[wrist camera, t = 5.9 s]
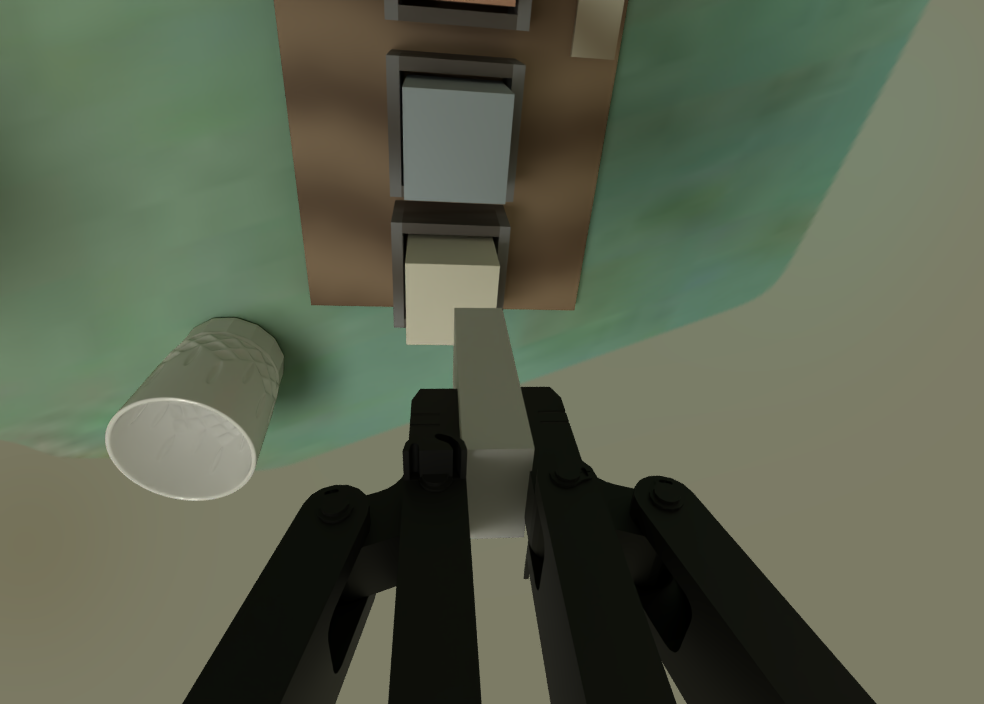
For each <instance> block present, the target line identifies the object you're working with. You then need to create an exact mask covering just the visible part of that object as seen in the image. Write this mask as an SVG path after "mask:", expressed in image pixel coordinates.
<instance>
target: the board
mask: <svg viewBox="0 0 984 704" xmlns="http://www.w3.org/2000/svg"><path fill="white" fill-rule="evenodd" d="M627 5H628V0H516V3H515V7H502V6H490V5H479V4H467V3H456V2H444V1H433V0H274V6H275V14H276V22H277V31H278V39H279V47H280V55H281V63H282V71H283V79H284V87H285V96H286V104H287V112H288V120H289V128H290V136H291V144H292V152H293V160H294V169H295V177H296V185H297V193H298V201H299V209H300V217H301V225H302V234H303V242H304V250H305V258H306V266H307V274H308V282H309V290H310V299H311V305H333V306H383V307H393V309H394V327H400V328H406V284H405V260H406V251H407V241H408V234H434V235H462V236H490V237H493V241H494V245H495V249H496V253H497V257H498V261H499V264H500V271H499V283H498V295H497V306H496V308H502V309H535V310H574V309H575V303H576V298H577V292H578V286H579V280H580V275H581V269H582V263H583V257H584V252H585V246H586V240H587V235H588V229H589V223H590V217H591V212H592V206H593V200H594V194H595V189H596V183H597V177H598V172H599V166H600V160H601V154H602V149H603V143H604V137H605V131H606V126H607V120H608V114H609V109H610V103H611V97H612V91H613V86H614V80H615V74H616V68H617V63H618V57H619V51H620V46H621V40H622V34H623V28H624V23H625V17H626V11H627ZM407 74H409V75H424V76H438V77H452V78H466V79H481V80H495V81H503V82H504V84H505V85H506V86H507V87H508V88H509V89H510V90H511V91H512V92H513V93H514V94H515V97H514V109H513V120H512V132H511V143H510V155H509V167H508V178H507V190H506V202H505V204H486V203H462V202H439V201H416V200H404V163H403V102H402V86H403V84H404V81H405V78H406V76H407Z"/></svg>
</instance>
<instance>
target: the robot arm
mask: <svg viewBox="0 0 984 704" xmlns="http://www.w3.org/2000/svg"><path fill="white" fill-rule="evenodd" d="M403 471H404V475H403V477H402V478H401V479H400V480H399V481H398V482H397V483H396V484H394V485H393V486H391V487H389V488H388V489H385V490H382V491H380V492H377V493H373V494H370V495H365V494H364V493H363V492H362V491H361V490H360V489H358V488H355V487H352V486H349V485H333V486H330V487H326V488H323V489H321V490H319V491H317V492H315V493H314V494H312V495H311V496H310V497H309V498H308V499H307V500H306V502H305V503H304V504H303V505H302V507H301V509H300V510H299V512H298V513H297V515H296V517H295V519H294V520H293V522H292V523H291V525H290V527H289V528H288V530H287V532H286V533H285V535H284V537H283V538H282V540H281V542H280V543H279V545H278V546H277V548H276V550H275V551H274V553H273V555H272V556H271V558H270V560H269V561H268V563H267V565H266V566H265V568H264V570H263V571H262V573H261V575H260V576H259V578H258V580H257V581H256V583H255V584H254V586H253V588H252V590H251V591H250V593H249V594H248V596H247V598H246V599H245V601H244V603H243V604H242V606H241V608H240V609H239V611H238V613H237V614H236V616H235V618H234V619H233V621H232V622H231V624H230V626H229V628H228V629H227V631H226V632H225V634H224V636H223V637H222V639H221V641H220V642H219V644H218V646H217V647H216V649H215V651H214V652H213V654H212V656H211V657H210V659H209V660H208V662H207V664H206V665H205V667H204V669H203V670H202V672H201V674H200V675H199V677H198V679H197V680H196V682H195V684H194V685H193V687H192V689H191V690H190V692H189V693H188V695H187V697H186V699H185V700H184V702H183V703H182V704H335V703H336V700H337V697H338V695H339V692H340V689H341V687H342V684H343V682H344V679H345V676H346V674H347V671H348V668H349V666H350V663H351V660H352V658H353V655H354V652H355V650H356V647H357V644H358V641H359V639H360V636H361V634H362V631H363V628H364V626H365V623H366V620H367V617H368V615H369V612H370V610H371V607H372V604H373V602H374V599H375V595H376V593H378V592H381V591H384V590H386V589H390V588H392V587H395V586H396V587H397V588H396V601H395V615H394V629H393V643H392V657H391V672H390V685H389V700H388V704H481V690H480V675H479V659H478V646H477V630H476V616H475V602H474V601H475V600H474V586H473V571H472V556H471V543H470V542H471V541H470V539H483V538H511V537H512V538H514V537H524V531H525V524H526V529H527V535H528V546H527V554H526V561H525V569H524V579H528V578H529V575H530V581H531V586H532V593H533V599H534V605H535V611H536V617H537V623H538V629H539V635H540V641H541V647H542V654H543V660H544V665H545V671H546V678H547V684H548V690H549V695H550V702H551V704H676V701H675V698H674V695H673V692H672V689H671V686H670V684H669V681H668V678H667V675H666V672H665V670H664V667H663V664H664V666H665V667H666V669H667V671H668V673H669V674H670V676H671V678H672V679H673V681H674V682H675V684H676V686H677V688H678V689H679V691H680V693H681V694H682V696H683V698H684V700H685V701H686V703H687V704H876V703H875V702H874V700H873V699H872V698H871V697H870V696H869V695H868V694H867V692H866V691H865V690H864V689H863V688H862V687H861V685H860V684H859V683H858V682H857V681H856V680H855V678H854V677H853V676H852V675H851V674H850V673H849V672H848V670H847V669H846V668H845V667H844V666H843V665H842V664H841V662H840V661H839V660H838V659H837V658H836V657H835V656H834V655H833V653H832V652H831V651H830V650H829V649H828V647H827V646H826V645H825V644H824V643H823V642H822V641H821V639H820V638H819V637H818V636H817V635H816V634H815V633H814V632H813V630H812V629H811V628H810V627H809V626H808V624H807V623H806V622H805V621H804V620H803V619H802V618H801V616H800V615H799V614H798V613H797V612H796V611H795V610H794V608H793V607H792V606H791V605H790V604H789V603H788V601H787V600H785V598H784V597H783V596H782V595H781V594H780V592H779V591H778V590H777V589H776V588H775V587H774V586H773V584H772V583H771V582H770V581H769V580H768V579H767V577H766V576H765V575H764V574H763V573H762V572H761V570H760V569H759V568H758V567H757V566H756V565H755V564H754V562H753V561H752V560H751V559H750V558H749V557H748V555H747V554H746V553H745V552H744V551H743V550H742V549H741V547H740V546H739V545H738V544H737V543H736V542H735V541H734V539H733V538H732V537H731V536H730V535H729V534H728V532H727V531H726V530H725V529H724V528H723V527H722V526H721V525H720V523H719V522H718V521H717V520H716V519H715V518H714V517H713V515H712V514H711V513H710V512H709V511H708V510H707V508H706V507H705V506H704V505H703V504H702V503H701V501H700V500H699V499H698V498H697V497H696V496H695V495H694V493H693V492H692V491H691V490H689V489H688V488H687V487H686V486H685V485H684V484H682V483H680V482H678V481H676V480H674V479H672V478H667V477H663V476H648V477H646V478H643V479H641V480H640V481H639V482H638V483H637V484H636V486H635V488H634V489H633V488H629V487H624V486H619V485H615V484H612V483H609V482H605V481H603V480H601V479H599V478H597V476H596V474H595V473H594V471H593V469H592V468H591V467H590V466H589V465H587V464H586V463H584V462H583V461H582V459H581V457H580V453H579V450H578V447H577V444H576V441H575V439H574V435H573V433H572V430H571V426H570V424H569V420H568V417H567V415H566V413H565V408H564V406H563V403H562V400H561V397H560V396H559V395H558V394H557V393H556V392H555V391H554V390H553V389H551V388H550V387H520V383H519V379H518V374H517V370H516V366H515V361H514V357H513V353H512V348H511V344H510V340H509V335H508V331H507V327H506V322H505V318H504V314H503V309H502V308H454V353H453V389H420V390H419V391H418V393H417V394H416V395H415V397H414V398H413V399H412V403H411V417H410V431H409V440H408V441H407V442H406V443H405V446H404V449H403ZM662 663H663V664H662Z"/></svg>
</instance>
